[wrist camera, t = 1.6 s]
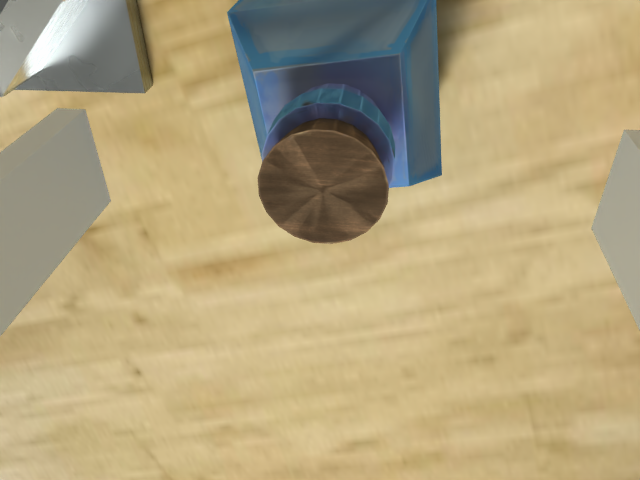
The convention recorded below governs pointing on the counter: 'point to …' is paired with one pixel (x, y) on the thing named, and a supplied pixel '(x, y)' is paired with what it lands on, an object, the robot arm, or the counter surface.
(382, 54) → the perfume bottle
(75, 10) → the flange
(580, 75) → the counter surface
